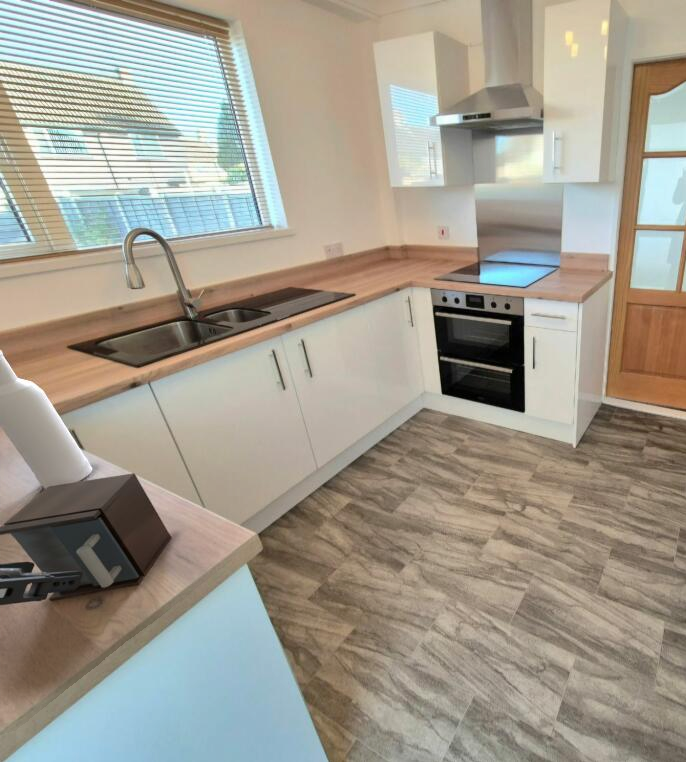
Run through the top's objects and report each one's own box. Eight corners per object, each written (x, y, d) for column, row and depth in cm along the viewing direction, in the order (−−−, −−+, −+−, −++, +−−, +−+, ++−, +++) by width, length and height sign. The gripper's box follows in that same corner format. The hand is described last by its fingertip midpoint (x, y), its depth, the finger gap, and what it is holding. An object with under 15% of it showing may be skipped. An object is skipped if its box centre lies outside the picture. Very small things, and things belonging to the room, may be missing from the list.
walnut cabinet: (50, 601, 63) (-7, 532, 57) (94, 551, 72) (48, 486, 66) (139, 584, 65) (93, 515, 59) (171, 537, 74) (134, 472, 67)
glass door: (78, 606, 61) (30, 545, 56) (95, 584, 65) (52, 525, 59) (124, 597, 62) (82, 537, 57) (139, 576, 65) (100, 517, 60)
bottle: (53, 494, 86) (-43, 359, 73) (36, 485, 90) (-59, 353, 76) (100, 471, 93) (20, 342, 79) (82, 463, 96) (2, 338, 83)
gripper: (-81, 561, 40) (107, 551, 55) (-176, 542, 43) (27, 537, 58) (-125, 652, 38) (83, 616, 53) (-222, 626, 41) (1, 598, 56)
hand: (53, 575), depth 55 cm, fingers open, 8 cm apart
